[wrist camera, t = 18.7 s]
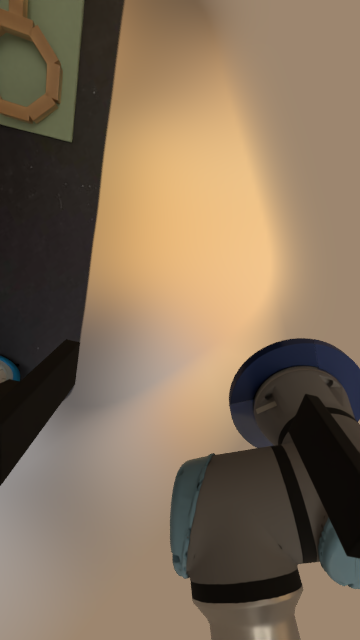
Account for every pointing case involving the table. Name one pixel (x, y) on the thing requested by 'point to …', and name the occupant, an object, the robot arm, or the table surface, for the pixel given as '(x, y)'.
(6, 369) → the alarm clock
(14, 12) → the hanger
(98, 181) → the table surface
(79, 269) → the table surface
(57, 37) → the mat
